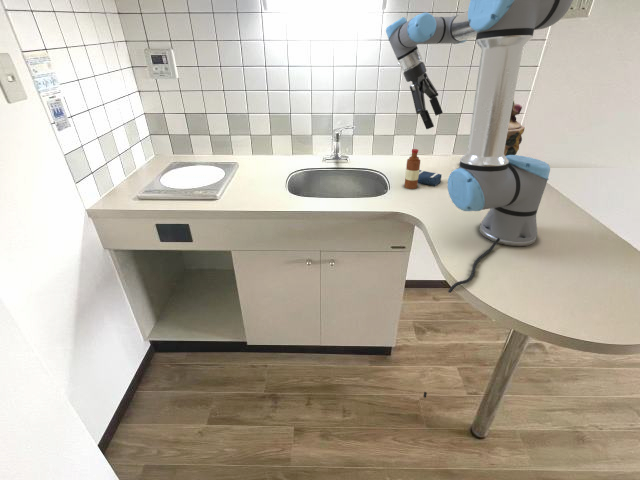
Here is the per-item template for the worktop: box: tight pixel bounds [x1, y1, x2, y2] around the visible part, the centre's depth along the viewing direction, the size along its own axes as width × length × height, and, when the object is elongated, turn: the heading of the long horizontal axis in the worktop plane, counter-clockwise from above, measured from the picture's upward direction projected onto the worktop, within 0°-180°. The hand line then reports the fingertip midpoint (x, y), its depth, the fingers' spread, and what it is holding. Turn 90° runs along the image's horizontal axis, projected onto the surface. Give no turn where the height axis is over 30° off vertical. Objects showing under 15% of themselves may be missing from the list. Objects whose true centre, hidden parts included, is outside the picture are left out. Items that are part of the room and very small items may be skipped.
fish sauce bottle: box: [404, 148, 421, 190], centre depth 137 cm, size 5×5×15 cm
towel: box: [418, 169, 443, 187], centre depth 144 cm, size 8×10×3 cm
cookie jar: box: [458, 100, 526, 166], centre depth 145 cm, size 25×25×32 cm
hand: (434, 120), depth 131 cm, fingers open, 13 cm apart
